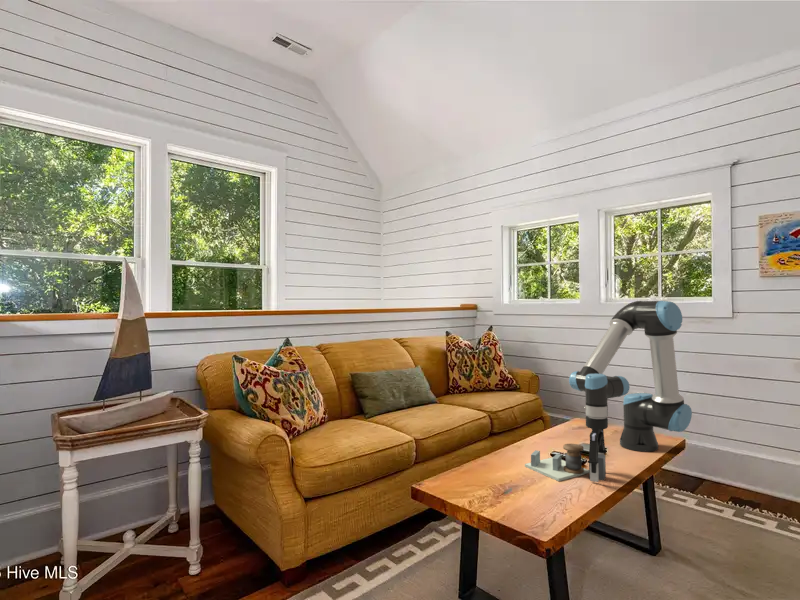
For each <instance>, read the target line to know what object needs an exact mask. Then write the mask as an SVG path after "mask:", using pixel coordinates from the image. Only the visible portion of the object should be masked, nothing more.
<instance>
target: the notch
mask: <svg viewBox="0 0 800 600" xmlns="http://www.w3.org/2000/svg"><path fill="white" fill-rule="evenodd" d="M552 457H553V470H555V471H558V470H559V469H560V467H561V466H562V463H561V460H562V454H561V453H556V454H555V455H554V456H552ZM540 460H541V451H540V450H534V451H533V452H532V453H531V454H530V463H531V466H533V467H536V466H537V465H538V464H539V463H540Z"/></svg>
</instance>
